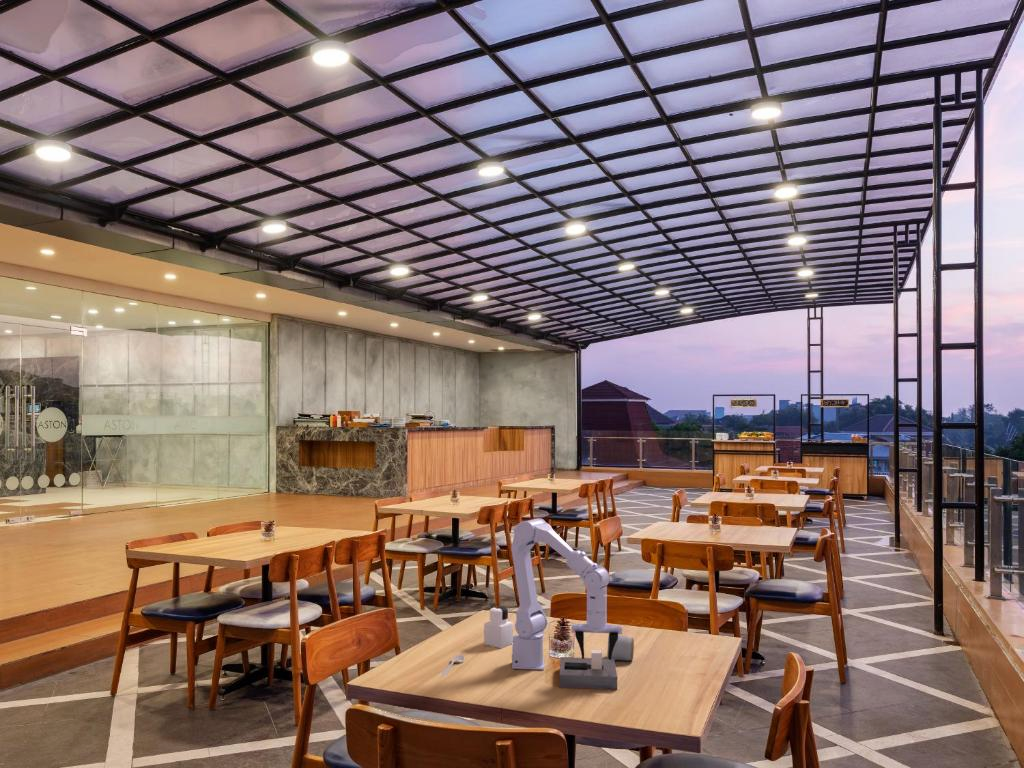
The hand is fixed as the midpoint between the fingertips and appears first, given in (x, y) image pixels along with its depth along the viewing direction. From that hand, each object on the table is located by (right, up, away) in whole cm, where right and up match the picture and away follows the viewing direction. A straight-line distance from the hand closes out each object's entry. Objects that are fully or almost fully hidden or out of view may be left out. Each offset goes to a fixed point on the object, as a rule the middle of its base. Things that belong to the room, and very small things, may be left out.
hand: (596, 658), depth 220 cm
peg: (0, -6, -1) cm, 6 cm away
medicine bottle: (-29, -8, +33) cm, 45 cm away
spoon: (-43, -7, +8) cm, 44 cm away
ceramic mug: (+10, -7, +20) cm, 23 cm away
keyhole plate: (-2, -6, 0) cm, 6 cm away
